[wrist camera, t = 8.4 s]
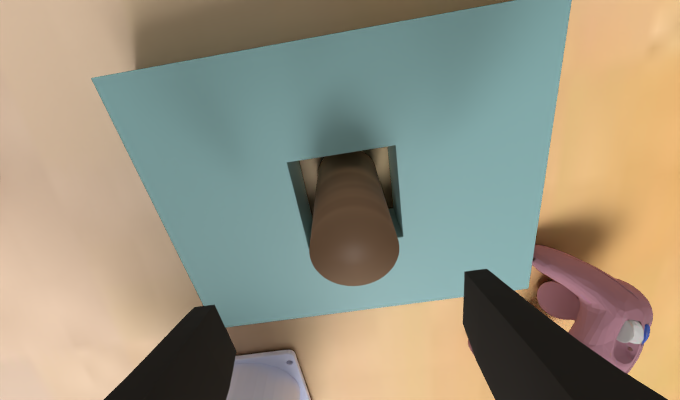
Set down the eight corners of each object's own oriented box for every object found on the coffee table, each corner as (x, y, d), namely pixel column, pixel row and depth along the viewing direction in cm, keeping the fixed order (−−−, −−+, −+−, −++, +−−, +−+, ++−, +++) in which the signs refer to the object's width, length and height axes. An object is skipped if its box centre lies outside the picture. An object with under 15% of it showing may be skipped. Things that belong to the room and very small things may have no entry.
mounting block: (502, 255, 20) (528, 288, 17) (230, 292, 21) (215, 328, 18) (526, -1, 14) (573, -11, 11) (134, 70, 15) (90, 78, 12)
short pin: (378, 196, 18) (402, 280, 12) (323, 204, 18) (318, 291, 12) (372, 143, 17) (396, 206, 10) (313, 151, 17) (301, 219, 10)
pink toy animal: (495, 331, 26) (583, 418, 20) (458, 346, 23) (546, 448, 18) (561, 232, 21) (694, 310, 16) (523, 237, 19) (665, 332, 14)
